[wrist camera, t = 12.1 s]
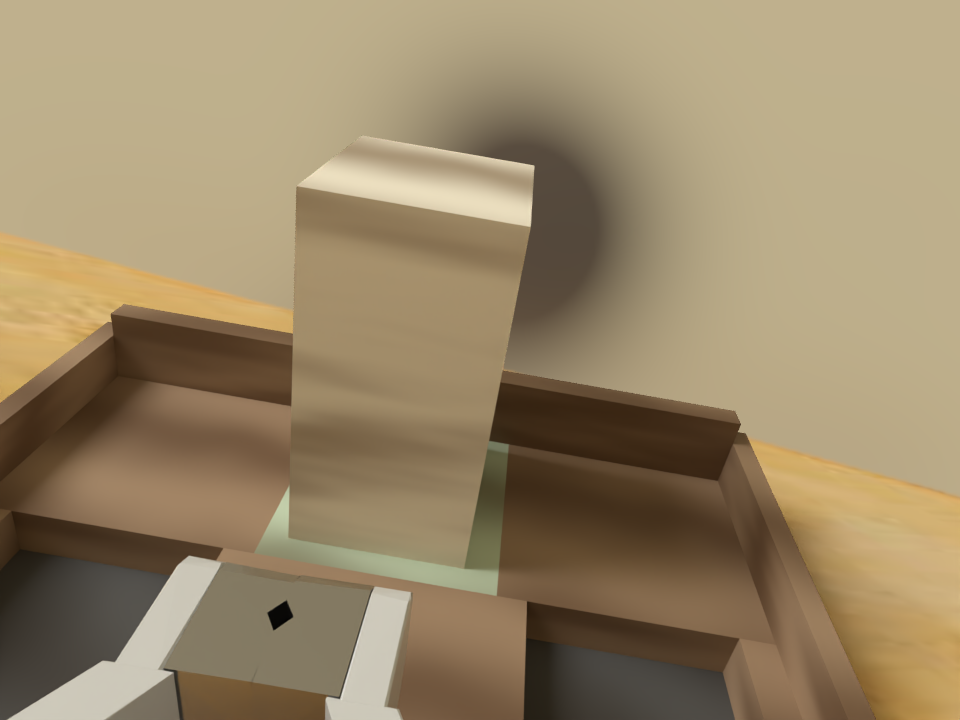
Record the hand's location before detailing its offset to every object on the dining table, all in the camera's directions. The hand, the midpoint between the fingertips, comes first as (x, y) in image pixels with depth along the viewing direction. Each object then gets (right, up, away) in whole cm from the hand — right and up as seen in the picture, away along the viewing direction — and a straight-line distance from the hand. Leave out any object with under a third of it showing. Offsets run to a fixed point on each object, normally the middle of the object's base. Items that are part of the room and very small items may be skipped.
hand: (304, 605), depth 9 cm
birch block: (-1, -2, +17) cm, 17 cm away
